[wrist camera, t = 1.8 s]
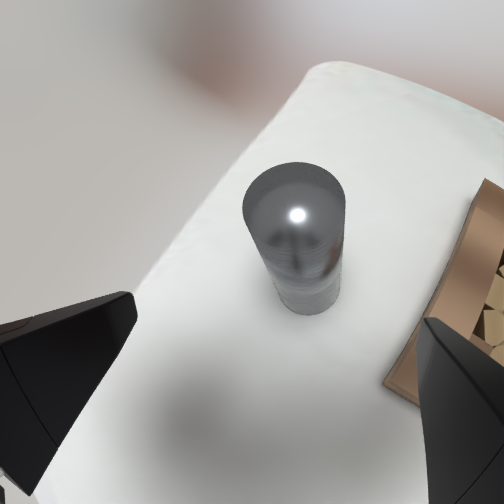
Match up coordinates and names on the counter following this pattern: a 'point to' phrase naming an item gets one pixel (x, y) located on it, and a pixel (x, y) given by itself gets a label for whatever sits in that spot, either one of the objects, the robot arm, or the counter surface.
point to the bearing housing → (466, 290)
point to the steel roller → (299, 233)
